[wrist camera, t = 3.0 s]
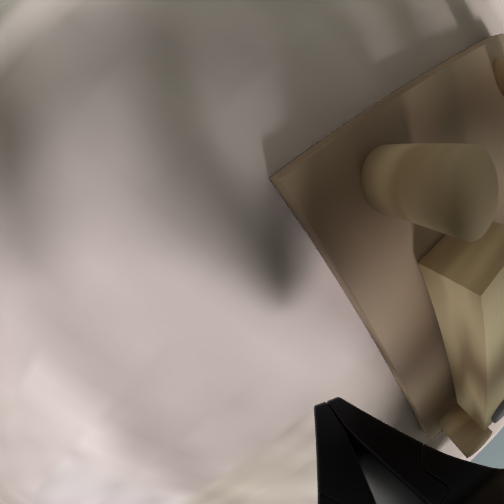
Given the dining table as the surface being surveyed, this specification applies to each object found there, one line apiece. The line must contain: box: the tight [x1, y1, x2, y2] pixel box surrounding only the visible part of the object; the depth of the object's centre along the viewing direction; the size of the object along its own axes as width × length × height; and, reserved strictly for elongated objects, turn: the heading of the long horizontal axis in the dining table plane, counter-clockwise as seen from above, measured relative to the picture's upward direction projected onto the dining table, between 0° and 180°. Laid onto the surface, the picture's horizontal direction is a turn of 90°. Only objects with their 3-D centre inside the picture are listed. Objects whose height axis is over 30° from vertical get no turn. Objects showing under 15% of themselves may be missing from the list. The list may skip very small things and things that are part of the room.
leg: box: [418, 221, 504, 431], centre depth 9 cm, size 12×3×3 cm, turn 36°
